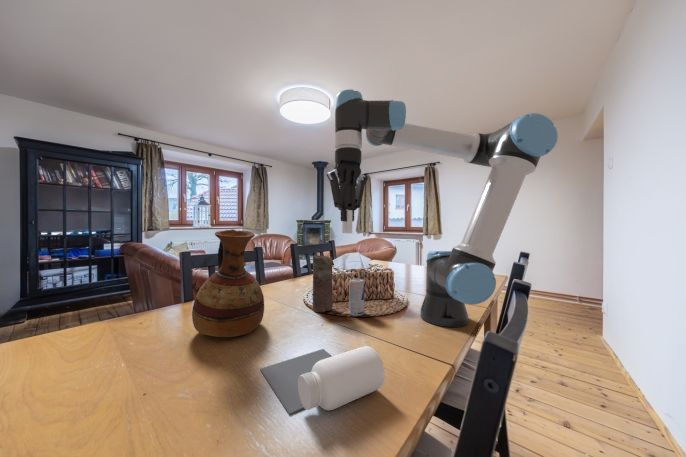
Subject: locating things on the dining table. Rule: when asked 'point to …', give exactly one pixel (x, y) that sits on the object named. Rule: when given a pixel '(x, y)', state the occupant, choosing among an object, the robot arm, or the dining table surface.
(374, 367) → the pill bottle
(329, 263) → the candle
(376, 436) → the dining table surface
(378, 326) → the dining table surface
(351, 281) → the energy drink
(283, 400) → the mat
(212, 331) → the ceramic pitcher
